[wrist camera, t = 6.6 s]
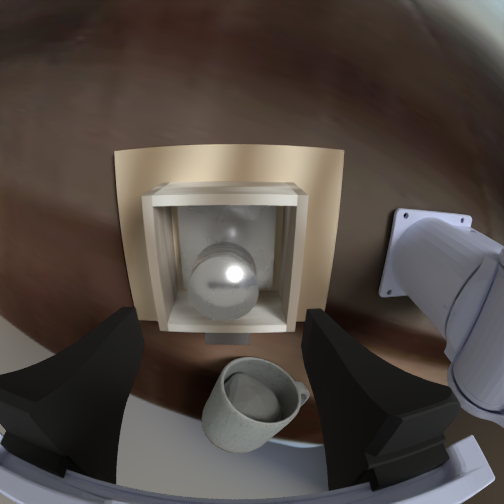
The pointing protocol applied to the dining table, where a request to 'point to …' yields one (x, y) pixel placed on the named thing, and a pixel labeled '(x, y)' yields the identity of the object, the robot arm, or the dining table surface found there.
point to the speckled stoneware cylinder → (251, 404)
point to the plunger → (226, 256)
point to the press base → (229, 193)
